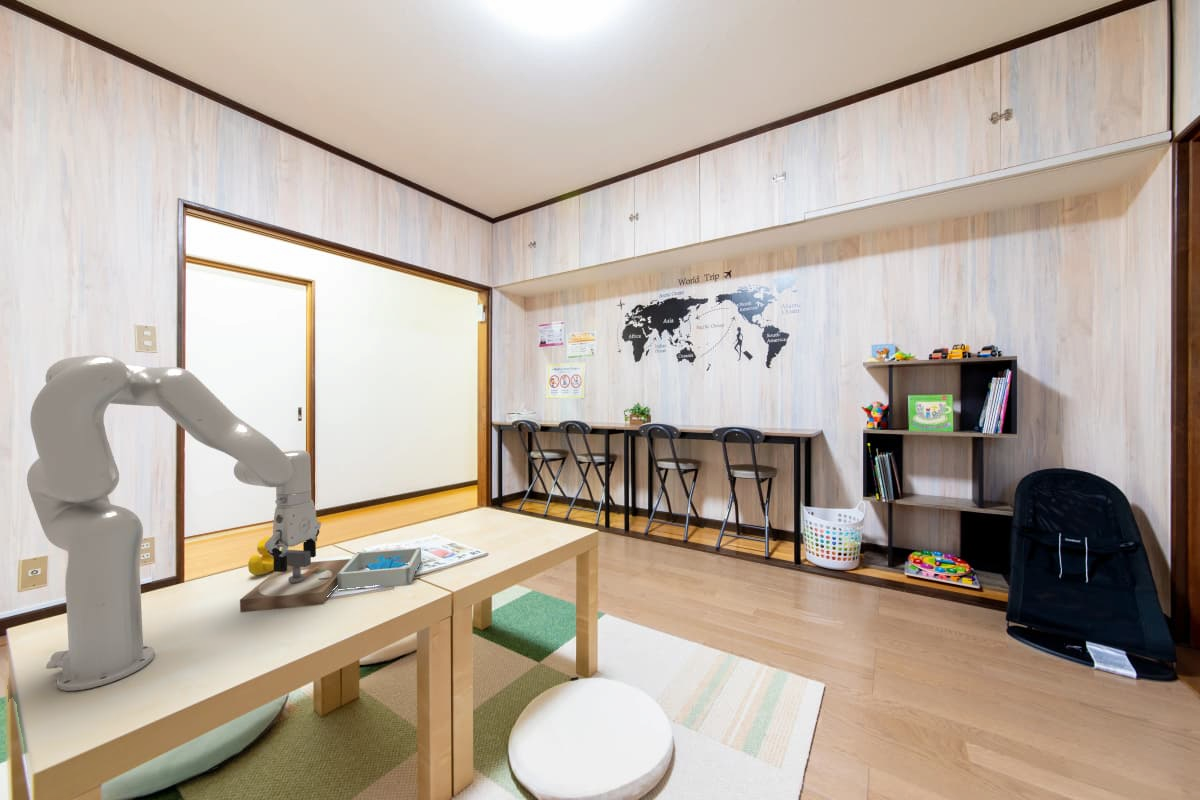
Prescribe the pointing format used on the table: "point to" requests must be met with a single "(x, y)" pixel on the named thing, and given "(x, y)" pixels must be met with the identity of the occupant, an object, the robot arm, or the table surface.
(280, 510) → the robot arm
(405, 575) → the toy tray
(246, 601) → the board
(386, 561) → the toy airplane
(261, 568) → the duckling
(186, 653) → the table surface
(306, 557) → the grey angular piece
